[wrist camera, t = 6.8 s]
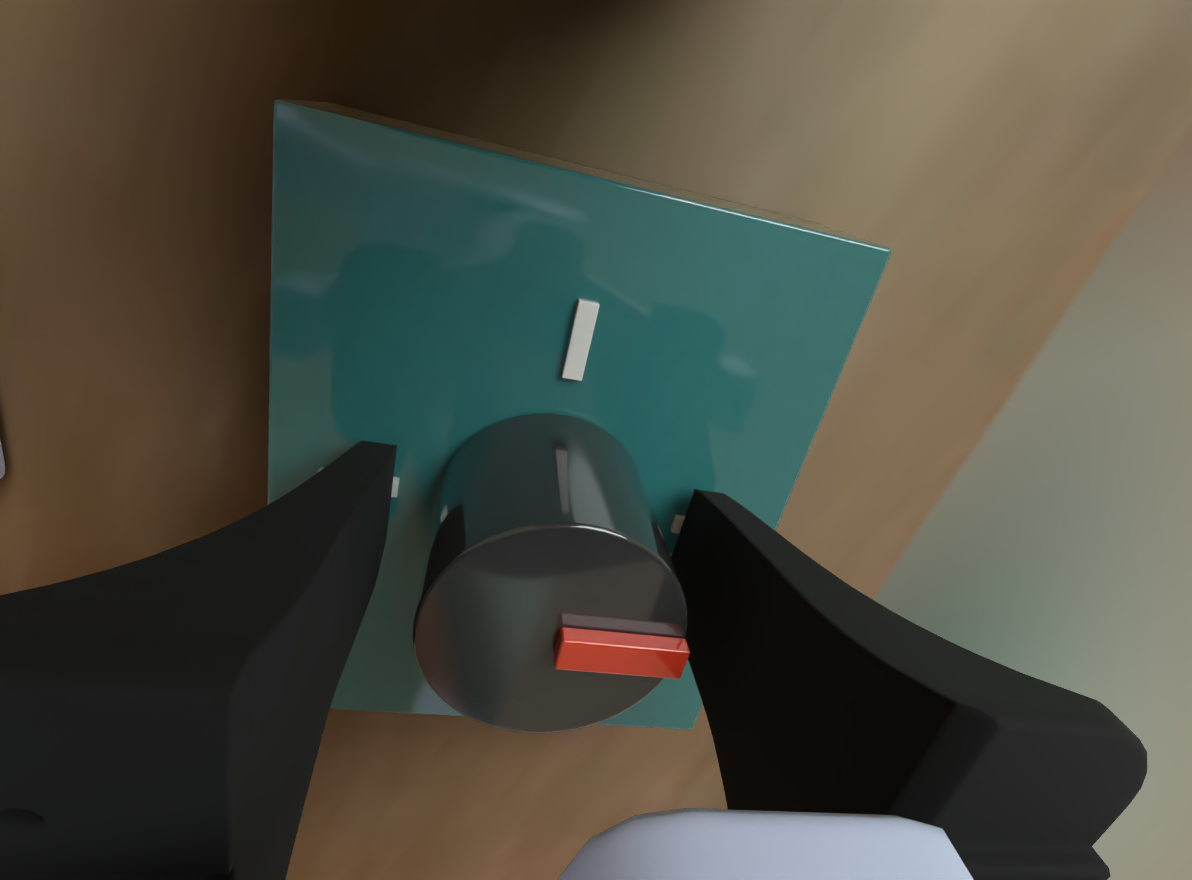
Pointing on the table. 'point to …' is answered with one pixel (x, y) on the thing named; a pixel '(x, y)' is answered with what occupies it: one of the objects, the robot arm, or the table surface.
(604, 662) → the knob
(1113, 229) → the table surface
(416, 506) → the dial panel
